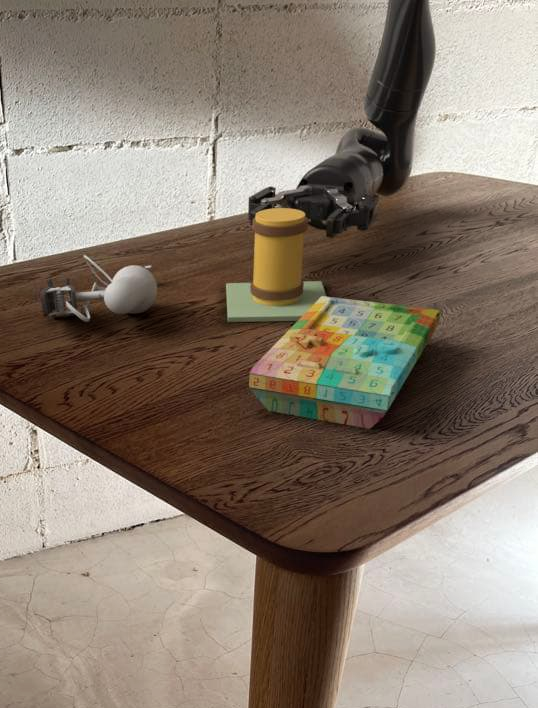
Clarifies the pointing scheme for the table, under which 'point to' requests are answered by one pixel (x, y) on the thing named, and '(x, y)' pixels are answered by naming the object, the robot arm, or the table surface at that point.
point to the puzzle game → (343, 360)
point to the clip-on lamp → (105, 293)
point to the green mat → (250, 311)
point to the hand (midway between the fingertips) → (292, 224)
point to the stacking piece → (278, 256)
